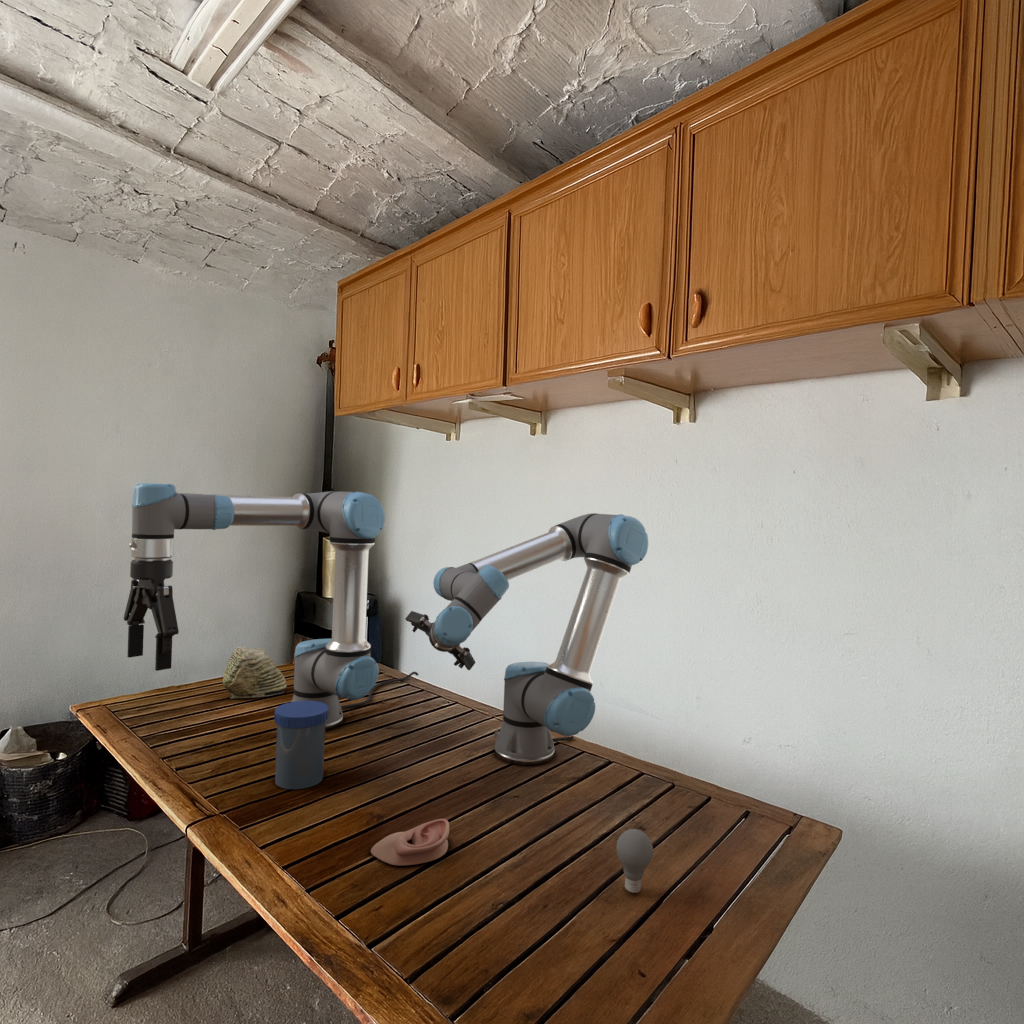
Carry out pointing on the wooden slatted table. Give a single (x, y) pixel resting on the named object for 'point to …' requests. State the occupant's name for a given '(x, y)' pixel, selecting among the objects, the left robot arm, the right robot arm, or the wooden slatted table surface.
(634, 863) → the light bulb
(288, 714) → the lid
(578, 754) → the wooden slatted table surface
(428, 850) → the anatomical model
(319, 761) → the jar
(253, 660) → the fossil
